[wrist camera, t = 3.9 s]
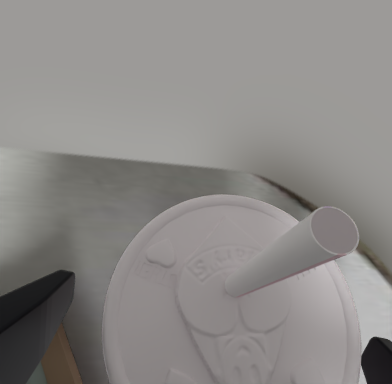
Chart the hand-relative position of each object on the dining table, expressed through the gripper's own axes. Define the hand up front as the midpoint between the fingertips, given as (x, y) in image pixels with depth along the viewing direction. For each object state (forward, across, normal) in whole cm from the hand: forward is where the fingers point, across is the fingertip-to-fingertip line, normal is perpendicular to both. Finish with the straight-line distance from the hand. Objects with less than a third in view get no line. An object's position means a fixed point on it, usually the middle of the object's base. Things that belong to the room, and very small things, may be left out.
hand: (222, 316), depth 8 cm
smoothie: (+6, 0, +6) cm, 8 cm away
